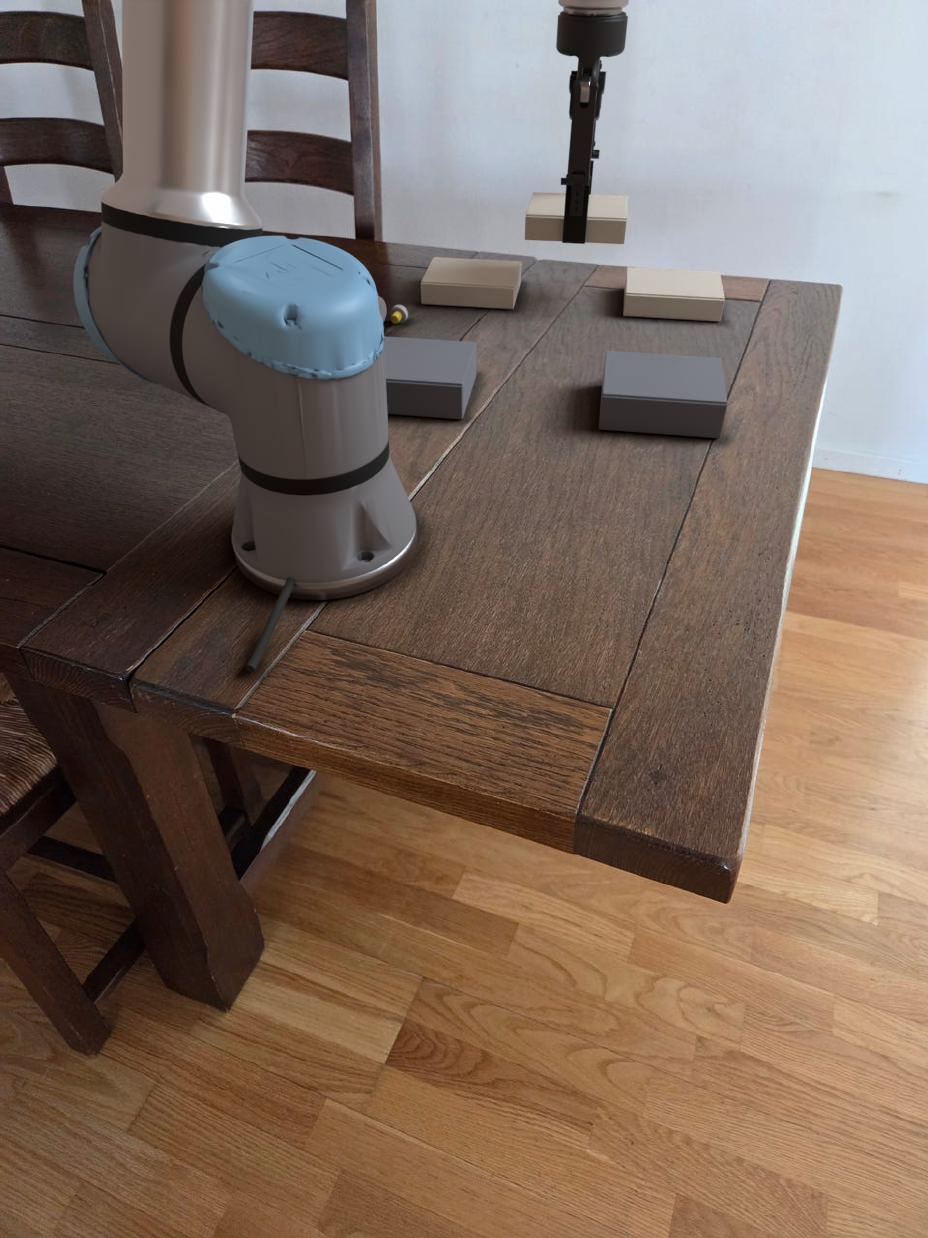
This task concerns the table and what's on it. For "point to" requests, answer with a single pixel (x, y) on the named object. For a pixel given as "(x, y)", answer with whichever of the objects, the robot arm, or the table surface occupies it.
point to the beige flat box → (601, 219)
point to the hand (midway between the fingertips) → (576, 228)
